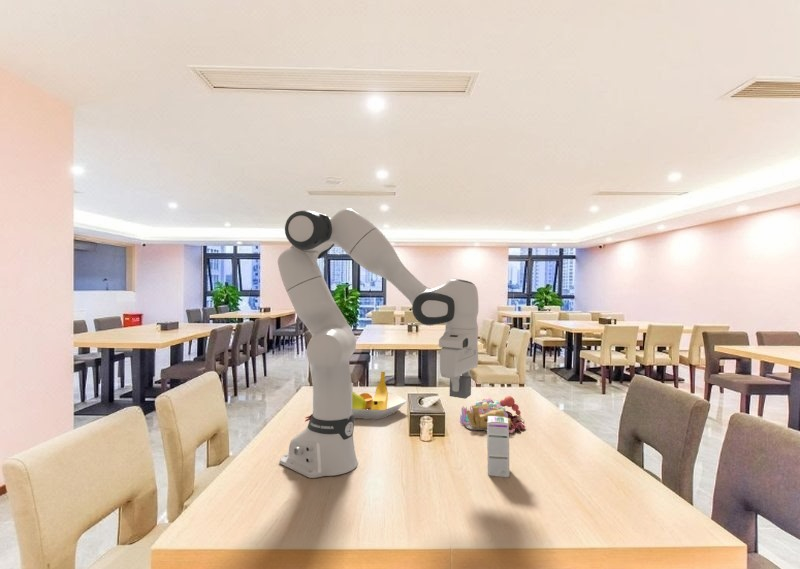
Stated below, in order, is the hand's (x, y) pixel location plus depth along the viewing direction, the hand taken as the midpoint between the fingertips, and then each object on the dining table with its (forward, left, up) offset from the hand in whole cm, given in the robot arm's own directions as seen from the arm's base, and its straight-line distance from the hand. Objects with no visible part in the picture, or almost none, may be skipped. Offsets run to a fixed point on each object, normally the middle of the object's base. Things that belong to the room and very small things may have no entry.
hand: (460, 388), depth 111 cm
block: (0, 0, -2) cm, 2 cm away
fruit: (-51, +33, -23) cm, 65 cm away
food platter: (-4, +45, -23) cm, 51 cm away
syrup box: (+9, +5, -23) cm, 25 cm away
